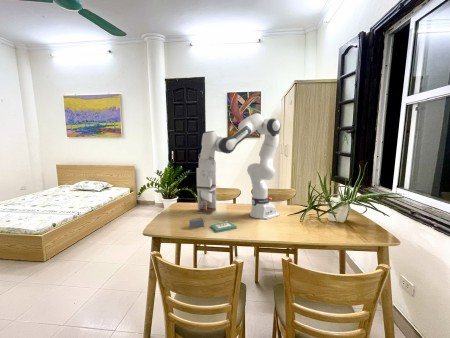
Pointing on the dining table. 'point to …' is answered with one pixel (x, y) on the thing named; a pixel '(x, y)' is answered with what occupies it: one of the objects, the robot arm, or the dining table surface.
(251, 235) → the dining table surface
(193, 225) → the block
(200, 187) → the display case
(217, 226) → the header board
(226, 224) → the header pins
